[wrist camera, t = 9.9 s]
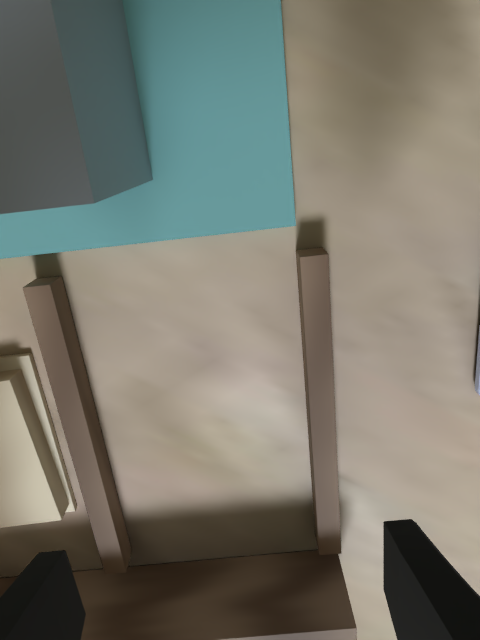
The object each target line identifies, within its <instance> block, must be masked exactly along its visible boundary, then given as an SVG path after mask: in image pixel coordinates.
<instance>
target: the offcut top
mask: <svg viewBox="0 0 480 640" xmlns="http://www.w3.org/2000/svg"><path fill="white" fill-rule="evenodd" d="M68 506H69V501H68V498H67V496H66V493H65V490H64V487H63V484H62V482H61V479H60V476H59V473H58V470H57V468H56V465H55V462H54V459H53V456H52V454H51V451H50V448H49V445H48V443H47V440H46V437H45V434H44V431H43V429H42V426H41V423H40V420H39V417H38V415H37V412H36V409H35V406H34V403H33V401H32V398H31V395H30V392H29V390H28V387H27V384H26V381H25V378H24V376H23V373H22V370H21V369H15V370H8V371H1V372H0V528H3V527H11V526H19V525H27V524H35V523H42V522H50V521H58V520H62V518H63V516H64V514H65V512H66V510H67V508H68Z"/></svg>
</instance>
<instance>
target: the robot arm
mask: <svg viewBox="0 0 480 640" xmlns="http://www.w3.org/2000/svg"><path fill="white" fill-rule="evenodd" d="M475 391H476V392H477V393H478V394H479V395H480V327H479V340H478V352H477V365H476V377H475ZM384 592H385V596H386V599H387V603H388V607H389V611H390V614H391V618H392V622H393V625H394V629H395V632H396V636H397V640H480V596H479V595H478V594H477V593H476V592H475V591H474V590H473V589H472V588H471V587H470V585H469V584H468V583H467V582H466V581H465V580H464V579H463V578H462V577H461V575H460V574H459V573H458V572H457V571H456V570H455V569H454V568H453V566H452V565H451V564H450V563H449V562H448V561H447V560H446V558H445V557H444V556H443V555H442V554H441V553H440V551H439V550H438V549H437V548H436V547H435V545H434V544H433V543H432V542H431V541H430V539H429V538H428V537H427V536H426V535H425V533H424V532H423V531H422V530H421V528H420V527H419V526H418V525H417V523H416V522H414V521H413V520H412V519H407V520H396V521H385V522H384ZM85 616H86V613H85V610H84V607H83V604H82V600H81V597H80V594H79V591H78V588H77V585H76V582H75V579H74V576H73V572H72V569H71V566H70V563H69V560H68V557H67V554H66V551H65V550H63V551H52V552H41V553H38V555H37V556H36V557H35V558H34V559H33V560H32V561H31V562H30V564H29V565H28V566H27V567H26V568H25V569H24V570H23V572H22V573H21V574H20V575H19V576H18V577H17V579H16V580H15V581H14V582H13V583H12V584H11V585H10V587H9V588H8V589H7V590H6V591H5V592H4V594H3V595H2V596H1V597H0V640H81V636H82V631H83V626H84V621H85Z"/></svg>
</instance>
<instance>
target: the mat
mask: <svg viewBox="0 0 480 640" xmlns="http://www.w3.org/2000/svg"><path fill="white" fill-rule="evenodd" d="M122 1H123V7H124V13H125V19H126V25H127V31H128V37H129V43H130V49H131V54H132V60H133V66H134V72H135V78H136V84H137V90H138V96H139V102H140V107H141V113H142V119H143V125H144V131H145V137H146V143H147V149H148V155H149V160H150V166H151V172H152V178H153V180H152V181H149V182H147V183H144V184H142V185H139V186H137V187H134V188H132V189H129V190H127V191H124V192H122V193H119V194H117V195H114V196H112V197H109V198H107V199H104V200H102V201H99V202H97V203H94V204H85V205H76V206H68V207H59V208H50V209H42V210H33V211H24V212H15V213H7V214H0V259H3V258H12V257H21V256H30V255H39V254H48V253H57V252H66V251H74V250H83V249H92V248H101V247H110V246H119V245H128V244H137V243H146V242H155V241H164V240H173V239H182V238H191V237H200V236H209V235H218V234H227V233H236V232H245V231H254V230H263V229H272V228H280V227H289V226H296V222H295V207H294V192H293V177H292V162H291V147H290V133H289V118H288V103H287V88H286V73H285V58H284V43H283V28H282V13H281V0H122Z"/></svg>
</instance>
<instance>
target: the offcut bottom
mask: <svg viewBox="0 0 480 640" xmlns="http://www.w3.org/2000/svg"><path fill="white" fill-rule="evenodd" d="M15 369H21V370H22V373H23V376H24V378H25V381H26V384H27V387H28V390H29V392H30V395H31V398H32V401H33V403H34V406H35V409H36V412H37V415H38V417H39V420H40V423H41V426H42V429H43V431H44V434H45V437H46V440H47V443H48V445H49V448H50V451H51V454H52V456H53V459H54V462H55V465H56V468H57V470H58V473H59V476H60V479H61V482H62V484H63V487H64V490H65V493H66V496H67V498H68V501H69V506H68V508H67V510H66V512H73V511H76V508H77V504H76V501H75V497H74V494H73V491H72V487H71V484H70V480H69V477H68V474H67V470H66V467H65V463H64V460H63V457H62V453H61V450H60V446H59V443H58V440H57V436H56V433H55V430H54V426H53V423H52V419H51V416H50V413H49V409H48V406H47V402H46V399H45V396H44V392H43V389H42V385H41V382H40V379H39V375H38V372H37V368H36V365H35V362H34V358H33V355H32V353H24V354H14V355H5V356H0V372H1V371H8V370H15Z"/></svg>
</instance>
